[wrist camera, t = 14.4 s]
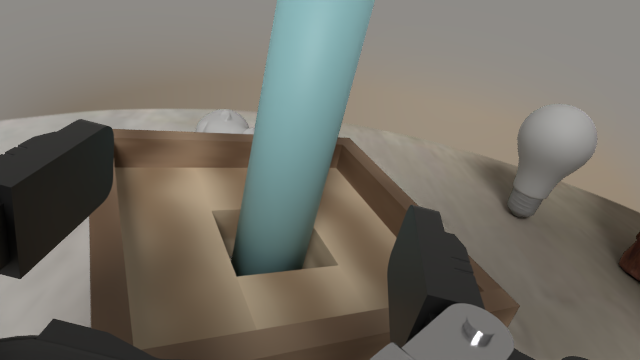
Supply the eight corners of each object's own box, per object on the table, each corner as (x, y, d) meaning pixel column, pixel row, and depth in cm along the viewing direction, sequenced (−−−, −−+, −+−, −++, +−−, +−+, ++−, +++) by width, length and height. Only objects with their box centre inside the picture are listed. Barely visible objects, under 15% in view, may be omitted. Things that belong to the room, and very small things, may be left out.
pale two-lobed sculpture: (190, 151, 42) (241, 134, 44) (221, 195, 36) (278, 173, 38) (179, 109, 39) (234, 93, 41) (211, 149, 34) (273, 129, 36)
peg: (282, 261, 29) (362, -70, 20) (305, 306, 26) (411, -60, 17) (220, 267, 27) (279, -94, 18) (237, 316, 24) (318, -88, 15)
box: (332, 197, 38) (349, 137, 35) (475, 382, 24) (520, 305, 21) (89, 205, 29) (88, 128, 27) (93, 494, 16) (92, 391, 13)
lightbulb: (496, 226, 40) (554, 110, 35) (477, 192, 45) (524, 87, 40) (561, 240, 40) (627, 127, 35) (534, 205, 46) (588, 103, 41)
